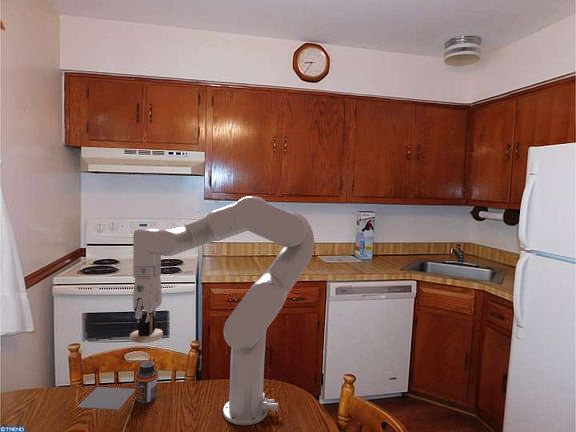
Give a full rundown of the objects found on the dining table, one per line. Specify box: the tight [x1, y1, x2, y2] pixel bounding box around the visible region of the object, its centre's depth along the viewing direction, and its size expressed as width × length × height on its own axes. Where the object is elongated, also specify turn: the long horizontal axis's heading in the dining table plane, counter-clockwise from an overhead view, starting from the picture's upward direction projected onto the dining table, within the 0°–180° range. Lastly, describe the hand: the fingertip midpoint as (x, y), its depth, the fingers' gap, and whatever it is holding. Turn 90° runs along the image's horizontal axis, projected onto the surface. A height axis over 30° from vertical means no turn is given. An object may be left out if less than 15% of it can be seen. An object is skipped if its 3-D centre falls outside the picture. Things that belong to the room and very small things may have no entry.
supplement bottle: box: [134, 360, 158, 404], centre depth 108 cm, size 6×6×11 cm
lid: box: [129, 312, 164, 344], centre depth 107 cm, size 9×9×7 cm
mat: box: [76, 386, 136, 411], centre depth 108 cm, size 12×11×1 cm
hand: (146, 332), depth 107 cm, fingers closed on lid, 3 cm apart
